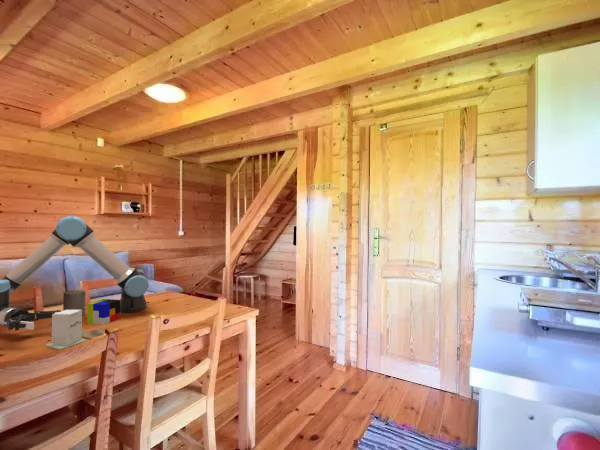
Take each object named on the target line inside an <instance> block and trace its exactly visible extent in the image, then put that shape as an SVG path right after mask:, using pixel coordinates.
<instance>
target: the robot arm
mask: <svg viewBox="0 0 600 450" xmlns="http://www.w3.org/2000/svg"><path fill="white" fill-rule="evenodd" d="M69 245H70V246H71V247H73V248H79V249H80V250H81V251H83V253H85V254H86V255H87V256H88V257H90V258H91V259H92V261H94V262H95V263H96V264H97V265H99V266H100V267H102V268H103V270H105V271H106V272H107V273H108V274H109V275H110V276H112V277H113V278H114V279H115V284H116V285H117V286H118V287H120V299H119V300H120V313H134V312H140V311H143V310H146V309H147V308H148V304H147V301H146V298H145V296H144V295H145V293H146V292H147V291H148V289H149V285H150V283H149V280H148V278H147V277H146V276H144V275H145V272H144V270H143V269H137V268H136V267H129V266H128V265H127V264H126V263H125V262H124V261H123V260H122V259H121V258H120V257H119V256H117V254H115V252H114V251H112V250H111V249H109V247H108V246H107V245H105V244H104V243H103V242H102V241H101V240H100V239H99V238H97V236H95V231H94V230H93V229H92V228H91V227H90V226H89V225H88V224H87V223H86V222H85V221H84V220H83V219H82V218H81V217H79V216H77V215H76V216H75V215H67V216H64V217H63V218H61V219H60V220H58V221H57V223H56V225H55V229H54V230H53V231H52V232H51V233H50V236H49V237H48V238H47V239H46V240H45V241H43V242H42V243H41V244H40V245H38V247H37V248H35V249H34V250H33V251H32V252H31V253H30V254H29V255H27V257H25V258H24V259H23V260H22V261H21V262H20V263H18V264H17V265H16V266H15V267H14V268H12V269H11V271H9V272H8V273H7V274H6V275H4V277H2V278H1V279H0V326H4V327H6V329H8V331H12V330H13V329H14V331H19V330H21V329H22V330H34V329H35V322H36V321H39V320H46V319H52V314H55V313H58V312H61V311H62V310H61V309H57V310H46V311H45V310H44V311H43V310H42V311H41V310H38V311H36V312H29V311H28V310H27V309H25V308H17V307H10V304H11V302H10V301H11V300H10V299H11V298H10V297H11V295H12V294H13V293H14V292H15V291H16V290H17V289H18V288H19V287H21V286H22V285H23V284H24V283H25V282H26V281H27V280H28V279H29V278H31V277H32V276H33V275H34V274H35V272H37V271H38V270H39V269H40V268H42V267H43V266H44V264H46V263H47V262H48V261H49V260H51V258H53V257H54V256H55V255H56V254H57V253H58V252H59V251H60V250H61V249H63V248H64V247H65V246H69Z"/></svg>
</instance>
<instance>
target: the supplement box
mask: <svg viewBox="0 0 600 450" xmlns="http://www.w3.org/2000/svg"><path fill="white" fill-rule="evenodd" d="M82 325H83V317H82V310H64V311H63V310H61V312H58V313H55V314H52V318H51V335H52V337H51V343H52V345H70V344H71V343H73V342H75V341H78V340H80V339H83V338H82V331H83V327H82Z"/></svg>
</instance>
